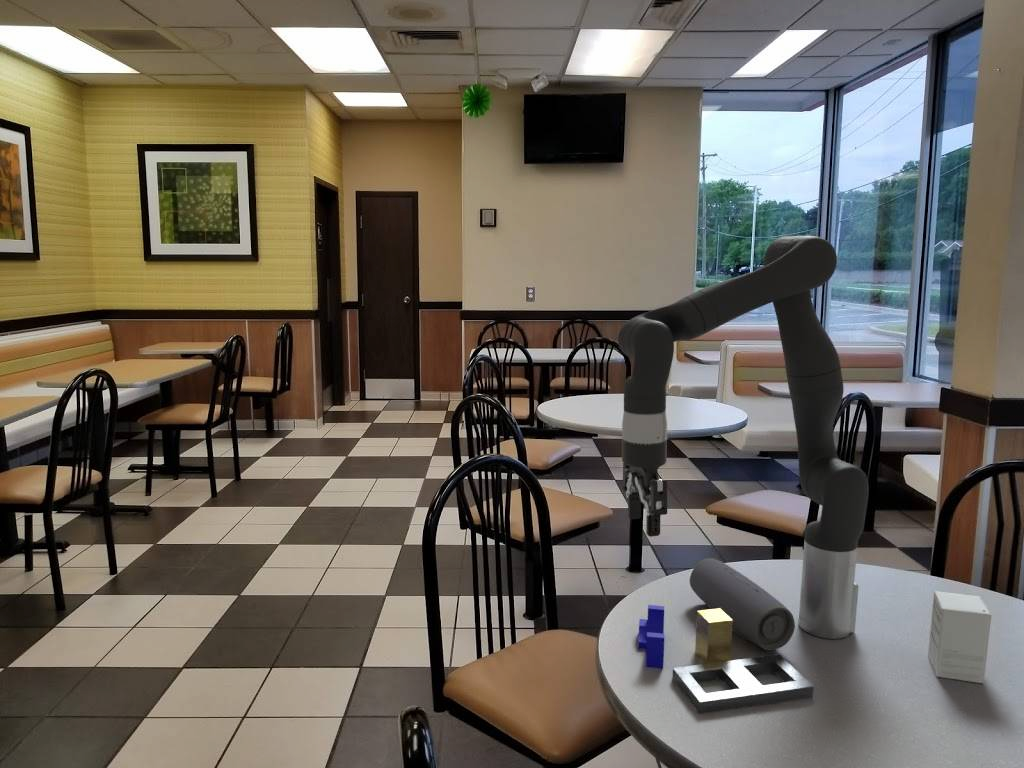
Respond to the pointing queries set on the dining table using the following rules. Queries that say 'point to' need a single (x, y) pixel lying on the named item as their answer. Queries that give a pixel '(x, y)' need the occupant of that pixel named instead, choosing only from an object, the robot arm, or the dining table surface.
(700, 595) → the bluetooth speaker
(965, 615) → the supplement box
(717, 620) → the tan rectangular block
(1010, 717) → the dining table surface
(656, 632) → the cable clip
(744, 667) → the grey flat frame
